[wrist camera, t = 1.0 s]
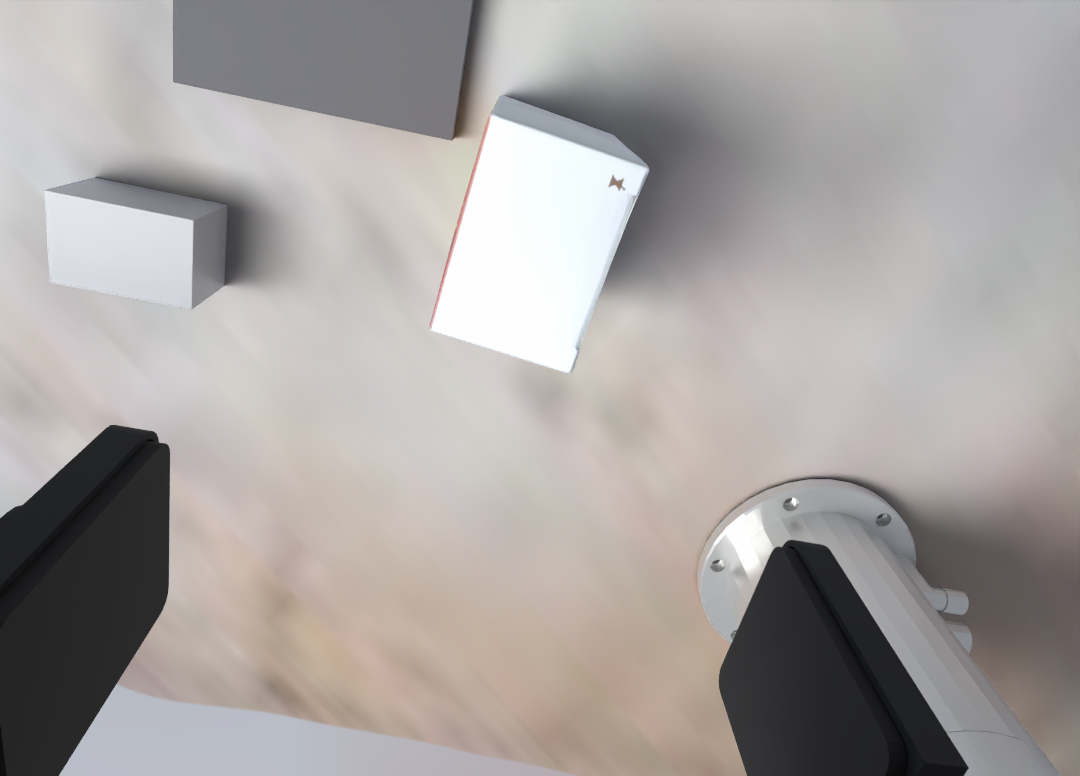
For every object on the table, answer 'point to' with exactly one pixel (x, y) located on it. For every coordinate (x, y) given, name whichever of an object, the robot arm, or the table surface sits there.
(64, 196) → the light grey rectangular block
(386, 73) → the charcoal mat
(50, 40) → the table surface
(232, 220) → the table surface
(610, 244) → the small box
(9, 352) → the table surface
